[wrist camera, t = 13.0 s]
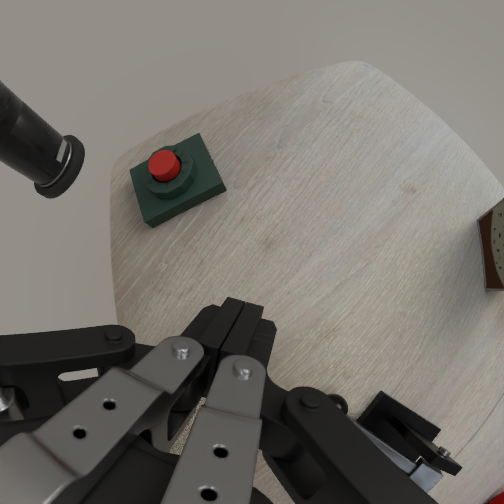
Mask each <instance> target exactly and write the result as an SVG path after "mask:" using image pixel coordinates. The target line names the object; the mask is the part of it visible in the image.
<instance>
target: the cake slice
mask: <svg viewBox="0 0 504 504" xmlns="http://www.w3.org/2000/svg"><path fill="white" fill-rule="evenodd" d="M477 225H478V230H479V237H480V243H481V251H482V260H483V270H484V283H485V290H494V291H504V198H503V199H502V200H501V201H500V202H498V203H497V204H496V205H495V206H494V207H492V208H491V209H490V210H489V211H487V212H486V213H485V214H484V215H482V216H481V217H480V218H479V219H477Z"/></svg>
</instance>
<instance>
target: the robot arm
mask: <svg viewBox="0 0 504 504" xmlns="http://www.w3.org/2000/svg"><path fill="white" fill-rule="evenodd" d="M72 157H73V145H72V143H71V142H70V141H68V140H67V139H65V138H64V137H63V136H62V135H60V134H59V133H58V132H57V131H56V130H55V129H54V128H52V127H51V126H50V125H49V124H48V123H47V122H46V121H44V120H43V119H42V118H41V117H40V116H38V114H36V113H35V112H34V111H33V110H32V109H31V108H30V107H28V106H27V105H26V104H25V103H24V102H23V101H22V100H21V99H19V98H18V97H17V96H16V95H15V94H14V93H13V92H12V91H11V90H10V89H9V88H7V87H6V86H5V85H4V84H3V83H2V82H1V81H0V161H1V162H3V163H4V164H6V165H8V166H9V167H11V168H12V169H14V170H16V171H17V172H19V173H21V174H22V175H24V176H26V177H27V178H29V179H30V180H32V181H34V182H35V183H37V184H38V185H39V186H41V187H43V188H49V187H51V186H53V185H54V184H56V183H57V182H58V181H59V180H60V179H61V178H62V177H63V175H64V174H65V172H66V171H67V169H68V167H69V165H70V163H71V160H72ZM263 309H264V307H263V306H260V305H256V304H252V303H249V302H246V304H245V301H241V300H238V299H234V298H231V297H227V299H226V300H225V301H224V303H223V304H222V306H221V307H220V306H216V305H213V304H212V305H210V306H207V307H205V308H203V309H202V310H201V311H200V312H199V314H198V316H196V317H195V318H194V320H193V321H192V322H191V323H190V324H189V326H188V327H187V328H186V329H185V330H184V332H183V333H182V334H181V335H180V336H172V337H168V338H166V339H164V340H163V341H161V342H160V343H159V344H158V345H157V346H149V345H144V344H138V343H135V335H134V333H133V332H132V331H131V330H130V329H128V328H126V327H124V326H120V325H104V326H96V327H87V328H79V329H70V330H60V331H50V332H39V333H28V334H14V335H0V504H273V503H272V502H271V500H270V499H268V498H267V497H266V496H265V495H264V494H263V493H262V492H260V491H259V490H258V489H256V488H255V487H253V480H254V474H255V467H256V461H257V455H258V449H260V450H262V455H263V457H264V459H265V461H266V462H267V464H268V465H269V467H270V468H271V470H272V471H273V473H274V474H275V476H276V477H277V479H278V480H279V482H280V483H281V484H282V486H283V487H284V489H285V490H286V491H287V493H288V494H289V496H290V497H291V498H292V500H293V501H294V502H295V504H438V503H437V502H436V501H435V500H434V499H433V498H432V497H430V496H429V495H428V494H427V493H426V492H425V491H424V490H423V489H422V488H420V487H419V486H418V485H417V484H416V483H415V482H414V481H413V480H412V479H411V478H410V477H409V476H407V475H406V474H405V473H404V472H403V471H402V470H401V469H400V468H399V467H398V466H397V465H396V464H395V463H394V462H393V461H392V460H391V459H389V458H388V457H387V456H386V455H385V454H384V453H383V452H382V451H381V450H380V449H379V448H378V447H377V446H376V445H375V444H374V443H373V442H372V441H371V440H370V439H369V438H368V437H367V436H366V435H365V434H364V433H363V432H362V431H361V430H360V429H359V428H358V427H357V426H356V425H355V424H354V423H353V422H352V421H351V420H350V419H349V418H348V417H347V416H346V415H345V414H344V413H343V412H342V411H341V409H340V408H339V407H338V406H337V405H336V404H335V403H334V402H333V401H332V400H331V399H330V398H329V397H328V396H327V395H326V394H325V393H323V392H322V391H320V390H318V389H315V388H312V387H304V386H303V387H296V388H293V389H291V390H290V391H286V390H284V389H282V388H281V387H279V386H277V385H276V384H275V383H273V382H272V381H271V379H270V378H269V376H268V374H267V366H268V362H269V358H270V354H271V350H272V347H273V343H274V339H275V335H276V331H277V329H276V326H275V324H274V322H273V321H269V320H266V319H262V314H263ZM92 368H97V371H98V377H92V378H86V379H80V380H73V381H62V380H60V379H59V378H58V376H59V375H60V374H62V373H65V372H72V371H80V370H86V369H92ZM201 397H205V398H206V401H205V404H204V405H201V406H200V408H199V410H198V412H197V415H196V417H195V420H194V422H193V425H192V427H191V430H190V432H189V435H188V438H187V440H186V443H185V445H184V448H183V450H182V453H181V455H176V454H171V453H169V452H170V449H171V448H172V446H173V444H174V443H175V442H176V440H177V439H178V437H179V436H180V434H181V433H182V431H183V430H184V428H185V427H186V425H187V424H188V422H189V421H190V419H191V418H192V417H193V415H194V414H195V412H196V406H197V404H198V403H199V401H200V399H201Z"/></svg>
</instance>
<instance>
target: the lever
mask: <svg viewBox="0 0 504 504" xmlns="http://www.w3.org/2000/svg"><path fill="white" fill-rule="evenodd" d="M327 396H328V397H329V398H330V399H331V400H332V401H333V402H334V403H335V404H336V405H337V406H338V407H339V408H340V409H341V411H342V412H343V413H344V414H345V415H346V416H347V417H348V418H349V419H350V420H351V421H352V422H353V423H354V424H355V425H356V426H357V427H358V428H359V429H360V430H361V431H362V432H363V433H364V434H365V435H366V436H367V437H368V438H369V439H370V440H371V441H372V442H373V443H374V444H375V445H376V446H377V447H378V448H379V449H380V450H381V451H382V452H383V453H384V454H385V455H386V456H387V457H388V458H389V459H391V460H392V461H393V462H394V463H395V464H396V465H397V466H398V467H399V468H400V469H402V470H403V471H405V472H406V475H407V476H409V477H410V478H411V479H412V480H413V481H414V482H415V483H416V484H417V485H418V486H419V487H420V488H422V489H423V490H424V491H425V492H426V493H428V492H429V491H430V490H431V489H432V488H433V486H434V485H435V484H436V483H437V482H438V481H439V480H440V479H441V478H442V477H443V475H442V473H441V471H440V469H438V468H436V467H434V466H432V465H430V464H429V463H428V462H427V461H426V460H424V459H423V458H420V459H419V460H418V461H417V462H414V461H413V460H411V459H410V458H408V457H407V456H405V455H404V454H402V453H401V452H399V451H398V450H396V449H395V448H394V447H392V446H391V445H389V444H388V443H386V442H385V441H383V440H382V439H381V438H379V437H378V436H376V435H375V434H374V433H372V432H371V431H369V430H368V429H367V428H365V427H364V426H363V425H361V424H360V423H359V422H357V421H356V420H354V419H353V418H352V417H350V416H349V415H348V414H347V412H348V405H347V402H346V400H345V399H344V398H343V397H342V396H340V395H337V394H328V395H327Z"/></svg>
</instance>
